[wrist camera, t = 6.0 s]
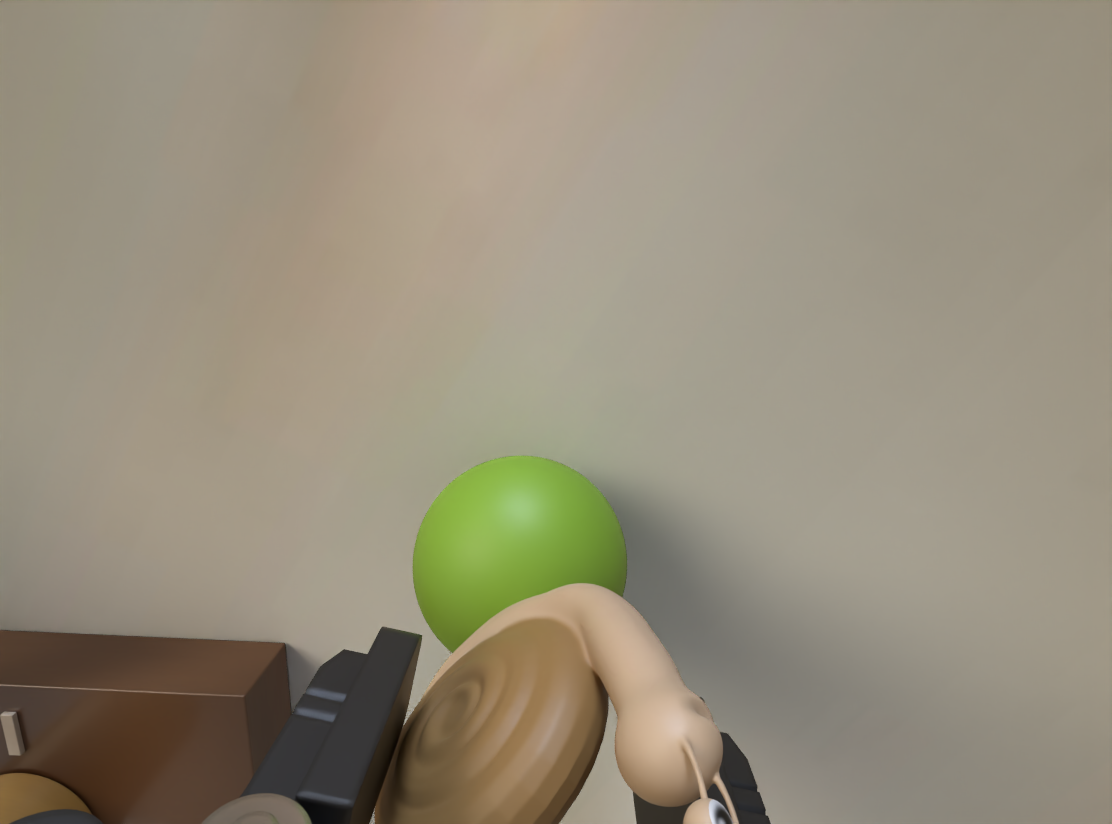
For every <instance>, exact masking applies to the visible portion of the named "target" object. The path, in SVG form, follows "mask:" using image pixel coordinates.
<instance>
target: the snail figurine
mask: <svg viewBox="0 0 1112 824" xmlns="http://www.w3.org/2000/svg"><path fill="white" fill-rule="evenodd" d="M626 575H627V554H626V546H625V541H624V537H623V533H622V530H621V527H620V524H619V522H618V519H617V517H616V515H615V513H614V511H613V509H612V508H611V506H610V504H609V503H608V501H607V500H606V499H605V497H604V496H603V495H602V493H601V492H600V491H599V490H598V489H597V488H596V487H595V486H594V485H593V484H592V483H591V482H590V481H589V480H587V479H586V478H585V477H584V476H582V475H581V474H579V473H578V472H576V471H575V470H573V469H571V468H569V467H567V466H565V465H563V464H561V463H558V462H555V461H552V460H549V459H545V458H540V457H534V456H509V457H503V458H498V459H494V460H490V461H487V462H485V463H482V464H480V465H477V466H475V467H473V468H471V469H470V470H468V471H466V472H464V473H463V474H461V475H460V476H459V477H457V478H456V479H455V480H454V481H452V482H451V483H450V484H449V485H448V486H447V487H446V488H445V489H444V490H443V491H442V492H441V493H440V494H439V496H438V497H437V498H436V499H435V501H434V502H433V504H432V505H431V507H430V508H429V510H428V512H427V513H426V515H425V517H424V519H423V521H422V524H421V526H420V529H419V532H418V535H417V539H416V543H415V548H414V554H413V581H414V588H415V593H416V597H417V600H418V603H419V606H420V609H421V611H422V614H423V616H424V618H425V620H426V622H427V623H428V625H429V627H430V628H431V630H432V631H433V633H434V634H435V635H436V637H437V638H438V639H439V640H440V641H441V643H442V644H443V645H444V646H445V647H446V648H447V649H449V650H450V651H451V652H452V654H451V656H450V657H449V658H448V659H447V660H446V661H445V663H444V664H443V665H442V667H441V668H440V669H439V671H438V672H437V674H436V675H435V677H434V678H433V680H432V681H431V683H430V685H429V686H428V688H427V690H426V691H425V693H424V695H423V697H422V699H421V701H420V702H419V704H418V705H417V706H416V708H415V709H414V711H413V712H412V714H411V715H410V717H409V718H408V720H407V722H406V723H405V725H404V726H403V728H402V731H401V734H400V737H399V740H398V743H397V746H396V749H395V752H394V755H393V758H392V760H391V763H390V766H389V769H388V772H387V775H386V777H385V780H384V783H383V786H382V789H381V791H380V794H379V797H378V800H377V803H376V806H375V824H558V823H559V822H560V821H561V820H562V818H563V817H564V815H565V814H566V812H567V811H568V809H569V808H570V806H571V805H572V803H573V802H574V801H575V799H576V798H577V796H578V795H579V793H580V791H581V789H582V787H583V785H584V783H585V781H586V779H587V778H588V776H589V774H590V772H591V770H592V768H593V766H594V763H595V760H596V758H597V755H598V752H599V749H600V746H601V743H602V740H603V737H604V732H605V727H606V722H607V717H608V695H609V697H610V699H611V701H612V704H613V706H614V708H615V711H616V713H617V717H618V722H617V728H616V734H615V755H616V761H617V764H618V767H619V770H620V773H621V775H622V777H623V778H624V780H625V782H626V783H627V785H628V786H629V787H630V788H631V790H632V791H633V792H634V793H636V794H637V795H638V796H639V797H641V798H642V799H644V800H645V801H647V802H649V803H652V804H655V805H658V806H664V807H678V806H683V805H686V804H689V803H691V802H693V801H695V800H696V799H698V798H699V797H701V799H699V800H697V801H695V802H693V803H692V804H691V805H690V806H689V807H688V809H687V811H686V813H685V816H684V820H683V824H739V821H738V818H737V815H736V812H735V809H734V806H733V804H732V801H731V799H730V796H729V794H728V792H727V790H726V787H725V785H724V783H723V781H722V780H721V778H720V775H719V769H720V766H721V762H722V757H723V742H722V737H721V734H720V732H719V729H718V728H717V726H716V725H715V724H714V721H713V718H712V716H711V713H710V711H709V709H708V707H707V705H706V704H705V703H704V701H703V700H702V699H701V698H700V697H698V696H697V695H696V694H695V693H693V692H692V691H690V690H689V689H688V688H687V687H686V685H685V684H684V682H683V680H682V678H681V676H680V674H679V672H678V670H677V668H676V666H675V664H674V662H673V660H672V658H671V657H670V655H669V653H668V652H667V650H666V649H665V647H664V646H663V645H662V643H661V642H660V640H659V639H658V637H657V636H656V634H655V633H654V632H653V630H652V629H651V627H650V626H649V624H648V623H647V622H646V620H645V619H644V618H643V617H642V615H641V614H640V613H639V612H638V611H637V610H636V609H635V608H634V607H633V606H632V605H631V604H630V603H628V602H627V601H626V600H625V599H623V598H622V596H623V592H624V588H625V583H626ZM713 783H714V784H716V785H717V787H718V788H719V790H720V792H721V794H722V795H723V797H724V799H725V802H726V804H727V807H728V809H729V812H730V815H731V817H730V815H729V813H728V812H727V810H726V809H725V808H724V806H723V805H722V804H721V803H719V802H718V801H716V800H714V799H710V798H708V796H707V790H708V789H709V788H710V786H711V785H712V784H713Z"/></svg>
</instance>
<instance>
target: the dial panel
mask: <svg viewBox="0 0 1112 824" xmlns="http://www.w3.org/2000/svg"><path fill="white" fill-rule="evenodd" d="M290 715H291V705H290V694H289V683H288V672H287V662H286V651H285V643H272V642H249V641H227V640H205V639H183V638H160V637H138V636H116V635H93V634H71V633H49V632H27V631H4V630H0V775H4V774H10V773H27V774H34V775H39V776H42V777H45V778H48V779H51V780H53V781H55V782H57V783H59V784H61V785H63V786H65V787H66V788H68V789H69V790H71V791H72V792H73V793H74V794H76V795H77V796H78V797H79V798H80V799H81V800H82V801H83V802H84V803H85V805H86V806H87V807H88V809H89V810H90V812H91V813H92V815H94V816H95V817H97V818H98V819H99V820H100V821H101V822H102V823H103V824H201V823H202V822H203V821H204V820H205V819H206V818H207V817H208V816H209V815H210V814H211V813H213V812H214V811H216V810H217V809H218V808H220V807H221V806H223V805H225V804H227V803H229V802H230V801H233V800H235V799H238V798H239V797H240V796H241V794H242V793H243V792H244V790H245V789H246V787H247V785H248V784H249V782H250V780H251V779H252V777H253V776H254V774H255V772H256V771H257V769H258V767H259V766H260V764H261V762H262V761H263V759H264V758H265V756H266V754H267V753H268V751H269V749H270V748H271V746H272V745H273V743H274V741H275V740H276V738H277V736H278V735H279V733H280V732H281V730H282V728H283V727H284V725H285V723H286V722H287V720H288V718H289V717H290Z"/></svg>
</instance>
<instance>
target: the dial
mask: <svg viewBox="0 0 1112 824" xmlns="http://www.w3.org/2000/svg"><path fill="white" fill-rule="evenodd" d="M59 809H72V810H79V811H84V812H87V813H89V814H91V815H92V813H91V812H90V810H89V809H88V807H87V806H86V805H85V803H84V802H83V801H82V800H81V799H80V798H79V797H78V796H77V795H76V794H74V793H73V792H72V791H71V790H69V789H68V788H66V787H65V786H63V785H61V784H59V783H57V782H55V781H53V780H51V779H48V778H45V777H42V776H39V775H34V774H27V773H10V774H4V775H0V824H9V823H11V822H14V821H16V820H18V819H21V818H23V817H26V816H29V815H33V814H36V813H39V812H45V811H50V810H59Z"/></svg>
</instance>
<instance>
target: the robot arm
mask: <svg viewBox="0 0 1112 824" xmlns="http://www.w3.org/2000/svg"><path fill="white" fill-rule="evenodd" d="M421 641H422V635H419V634H414V633H410V632H405V631H401V630H396V629H392V628H387V627H382V628H381V629H380V631H379V633H378V635H377V637H376V639H375V641H374V643H373V645H372V647H371V649H370V651H369V652H368V654H363V653H358V652H354V651H349V650H345V649H344V650H343V651H341V652H340V653H338V654H337V655H336V656H334V657H333V658H331V659H330V660H329V661H327V662H326V663H324V664H323V665H322V666H320V668H319V670H318V671H317V673H316V674H315V676H314V678H313V679H312V681H311V683H310V684H309V686H308V687H307V689H306V692H305V694H303V696H302V697H301V699H300V701H299V702H298V704H297V705H296V707H295V709H294V712H293V714H291V715H290V717H289V718H288V720H287V722H286V723H285V725H284V727H283V728H282V730H281V732H280V733H279V735H278V736H277V738H276V740H275V741H274V743H273V745H272V746H271V748H270V749H269V751H268V753H267V754H266V756H265V758H264V759H263V761H262V762H261V764H260V766H259V767H258V769H257V771H256V772H255V774H254V776H253V777H252V779H251V780H250V782H249V784H248V785H247V787H246V789H245V790H244V792H243V793H242V794H241V796H240V797H239V798H238V799H235V800H233V801H230V802H229V803H227V804H225V805H223V806H221V807H220V808H218V809H217V810H216V811H214V812H213V813H211V814H210V815H209V816H208V817H207V818H206V819H205V820H204V821H203V822H202V823H201V824H369V822H370V820H371V817H372V814H373V811H374V808H375V806H376V803H377V800H378V797H379V794H380V791H381V789H382V786H383V783H384V780H385V777H386V775H387V772H388V769H389V766H390V763H391V760H392V758H393V755H394V752H395V749H396V746H397V743H398V740H399V737H400V734H401V731H402V727H403V724H404V720H405V716H406V712H407V708H408V704H409V699H410V694H411V690H412V685H413V680H414V675H415V670H416V666H417V661H418V656H419V651H420V647H421ZM700 698H701V697H700ZM701 699H702V698H701ZM702 700H703V699H702ZM703 701H704V700H703ZM704 703H705V702H704ZM720 734H721V737H722V742H723V757H722V762H721V766H720V769H719V775H720V778H721V780H722V781H723V783H724V785H725V787H726V790H727V792H728V794H729V796H730V799H731V801H732V804H733V806H734V809H735V812H736V815H737V818H738V821H739V824H771V823H770V820H769V818H768V816H766V815H765V811H766V809H765V807H764V804H763V801H762V798H761V796H760V793H759V792H757V785H756V782H755V779H754V776H753V773H752V771H751V768H750V765H749V762H748V760H747V758H746V757H745V756H744V754H743V753H742V752H741V750H740V749H739V748H738V746H737V745H736V744H735V742H734V741H733V740H732V739H731V737H730V736H729V735H728V734H727V733H722V732H720ZM707 796H708V798H710V799H714V800H716V801H718V802H719V803H721V804H722V805H723V806H724V808H725V809H726V810H727V812H728V813H729V815H730V812H729V809H728V807H727V804H726V802H725V799H724V797H723V795H722V794H721V792H720V790H719V788H718V787H717V785H716V784H714V783H713V784H712V785H711V786H710V788H709V789H708V790H707ZM633 797H634V805H635V813H636V821H637V824H683V820H684V816H685V813H686V811H687V809H688V807H689V806H690V805H691V804H692V803H693V802H695V801H697V800H699V799H701V797H699V798H698V799H696V800H695V801H693V802H691V803H689V804H686V805H683V806H678V807H664V806H658V805H655V804H652V803H649V802H647V801H645V800H644V799H642V798H641V797H639V796H638V795H637V794H636V793H634V792H633ZM730 817H731V815H730ZM9 824H103V823H102V822H101V821H100V820H99V819H98V818H97V817H95V816H94V815H91V814H89V813H87V812H84V811H79V810H72V809H59V810H50V811H45V812H39V813H36V814H33V815H29V816H26V817H23V818H21V819H18V820H16V821H14V822H11V823H9Z"/></svg>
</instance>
